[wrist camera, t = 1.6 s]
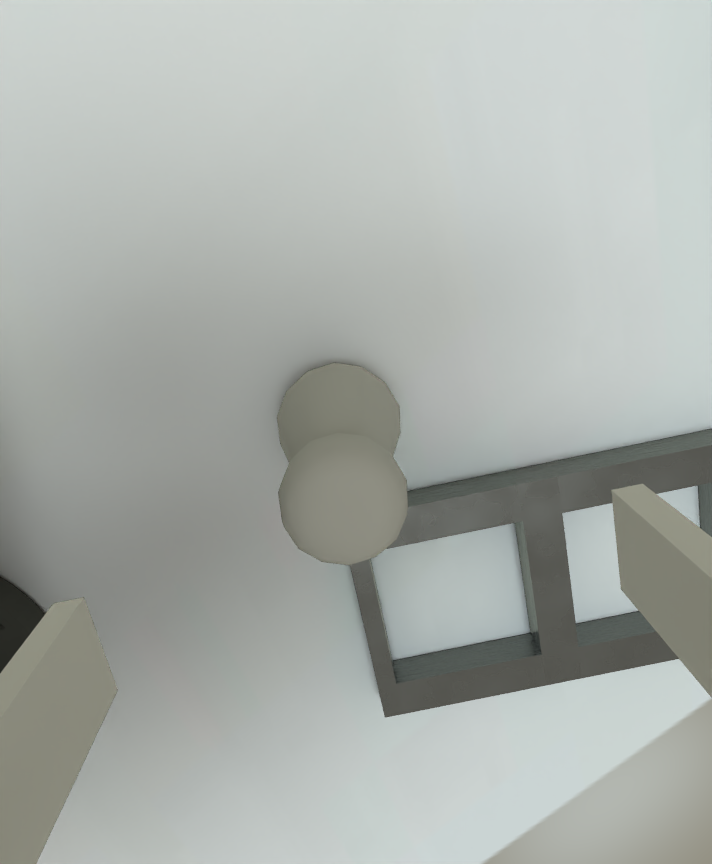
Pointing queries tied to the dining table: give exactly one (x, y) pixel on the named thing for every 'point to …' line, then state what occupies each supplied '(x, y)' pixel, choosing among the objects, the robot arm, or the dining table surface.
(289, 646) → the dining table surface
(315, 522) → the salt shaker
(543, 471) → the double window frame
